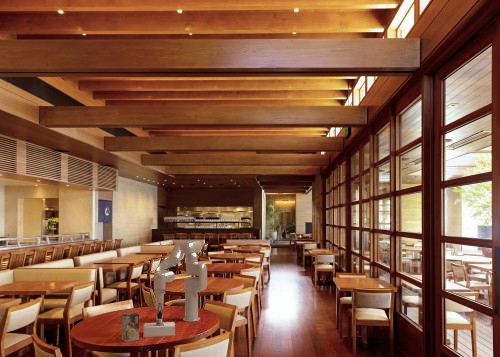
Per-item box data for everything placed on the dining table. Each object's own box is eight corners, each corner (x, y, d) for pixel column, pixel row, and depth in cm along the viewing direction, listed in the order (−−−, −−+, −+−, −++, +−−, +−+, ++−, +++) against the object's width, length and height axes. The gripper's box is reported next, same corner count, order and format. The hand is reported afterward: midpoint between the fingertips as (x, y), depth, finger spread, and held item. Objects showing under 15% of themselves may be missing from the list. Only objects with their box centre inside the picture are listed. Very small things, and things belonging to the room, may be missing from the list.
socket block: (143, 332, 320) (144, 323, 321) (174, 330, 324) (174, 321, 325) (143, 337, 309) (143, 327, 309) (174, 335, 313) (174, 326, 313)
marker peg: (156, 333, 318) (156, 315, 319) (162, 333, 319) (162, 314, 320) (156, 334, 314) (156, 316, 315) (162, 334, 315) (162, 316, 316)
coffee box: (135, 337, 308) (135, 312, 309) (139, 339, 302) (139, 314, 303) (121, 340, 302) (121, 314, 303) (125, 342, 297) (125, 316, 298)
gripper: (154, 289, 326) (153, 314, 325) (153, 294, 309) (153, 320, 308) (165, 288, 328) (165, 314, 327) (165, 293, 311) (165, 320, 310)
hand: (159, 317), depth 318 cm, fingers open, 9 cm apart
